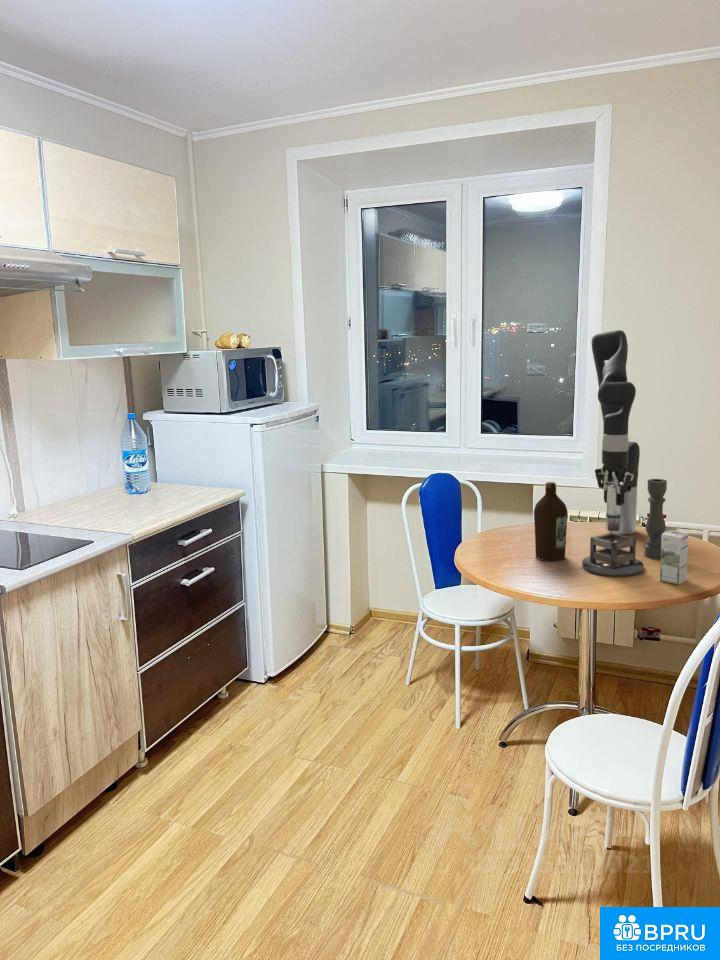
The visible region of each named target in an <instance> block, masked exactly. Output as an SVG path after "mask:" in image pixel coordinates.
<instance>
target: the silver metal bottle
mask: <svg viewBox="0 0 720 960" xmlns="http://www.w3.org/2000/svg"><path fill="white" fill-rule="evenodd" d="M620 487H621V486H620ZM617 494H618V493H617V489H616V486H615V484H608V485H607V503H606V512H605V513H606V514H605V517H606V519H605V520H606V525H605V529H606V531H609V532H610V531H620V518H621V514H620V508H621V506H618V505H616V500H617Z"/></svg>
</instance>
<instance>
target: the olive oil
mask: <svg viewBox="0 0 720 960" xmlns="http://www.w3.org/2000/svg"><path fill="white" fill-rule="evenodd" d="M544 489H545V494H544V495H543V496H542V497H541V498H540V500H539V501H537V503H536V504H535V506H534V510H533V518H534V519H533V521H534V522H533V523H534V539H535V540H534V543H535V544H534V545H535V558H537V557H538V558H540V559H543V560H542V561H545V560H552V561H551V562H557V561H556V560H559V561H562V560H565V557H566V545H567V529H568V507H567V505H566V504H565V502H564V501H563V500H562V499H561V498H560V497H559V496H558V494H557V483H556V482H554V481H549V482H548V481H547V482H546V483H545V488H544ZM538 558H537V559H538ZM540 559H539V560H540Z"/></svg>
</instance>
